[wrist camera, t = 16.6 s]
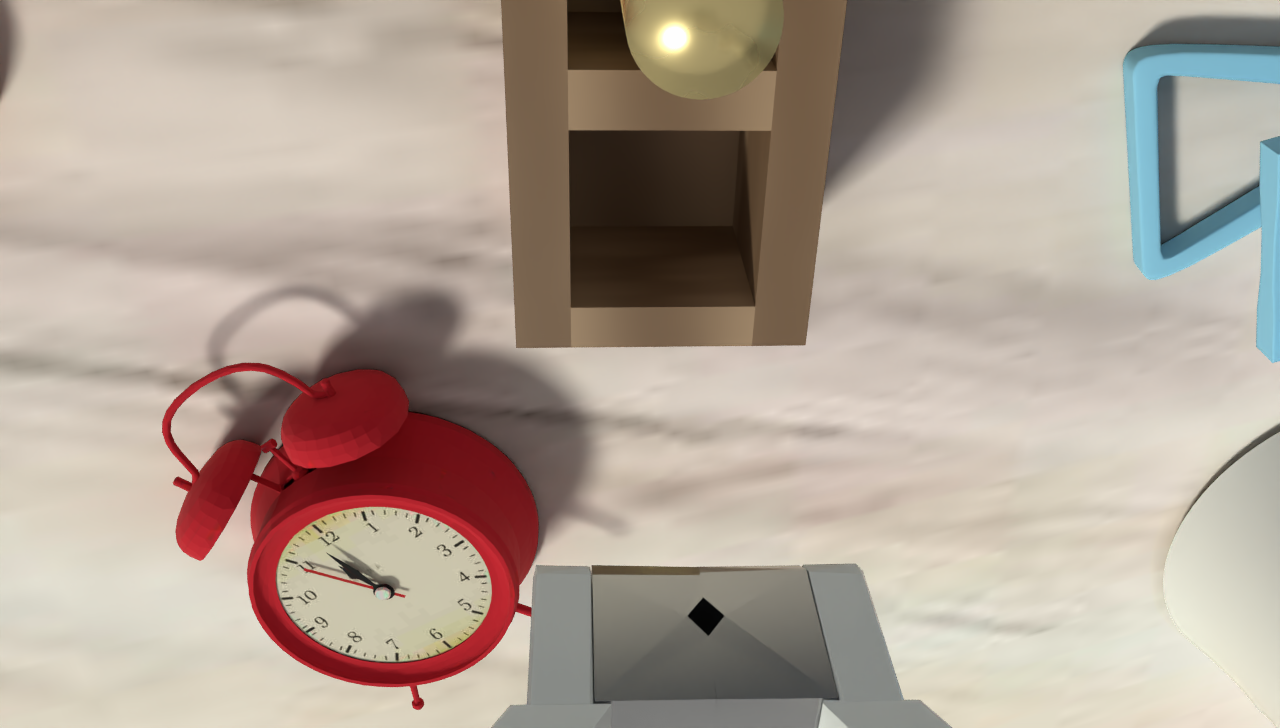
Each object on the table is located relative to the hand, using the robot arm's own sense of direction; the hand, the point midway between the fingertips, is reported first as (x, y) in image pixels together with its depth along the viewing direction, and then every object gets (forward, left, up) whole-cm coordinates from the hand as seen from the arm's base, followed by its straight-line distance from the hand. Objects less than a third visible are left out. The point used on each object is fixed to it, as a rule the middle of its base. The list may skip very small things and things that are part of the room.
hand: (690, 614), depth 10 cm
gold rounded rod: (-1, -2, -24) cm, 24 cm away
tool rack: (-1, +2, -25) cm, 25 cm away
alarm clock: (+9, +19, -25) cm, 32 cm away
